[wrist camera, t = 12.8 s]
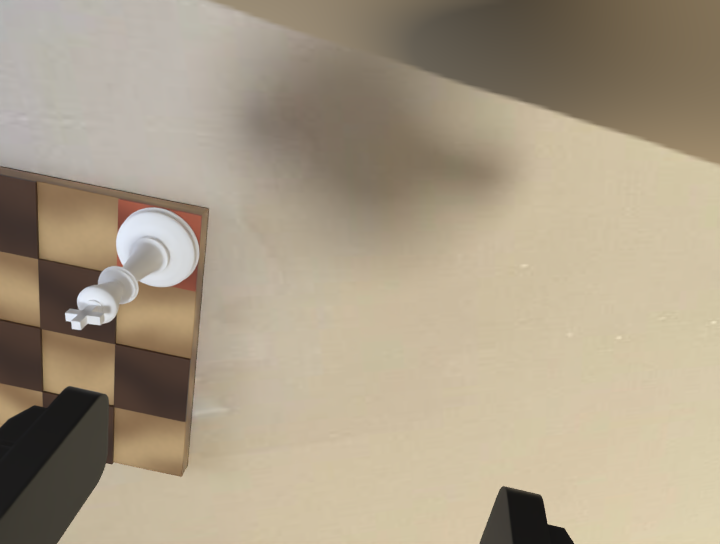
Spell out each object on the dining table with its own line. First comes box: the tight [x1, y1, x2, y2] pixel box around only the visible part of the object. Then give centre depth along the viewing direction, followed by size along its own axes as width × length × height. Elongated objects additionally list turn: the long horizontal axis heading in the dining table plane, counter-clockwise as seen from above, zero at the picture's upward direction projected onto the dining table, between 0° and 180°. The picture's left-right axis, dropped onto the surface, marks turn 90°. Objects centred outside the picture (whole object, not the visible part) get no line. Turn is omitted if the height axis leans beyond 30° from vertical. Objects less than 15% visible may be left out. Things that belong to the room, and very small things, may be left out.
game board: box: [0, 167, 208, 477], centre depth 43 cm, size 20×20×1 cm
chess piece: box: [65, 207, 199, 330], centre depth 35 cm, size 5×5×10 cm
